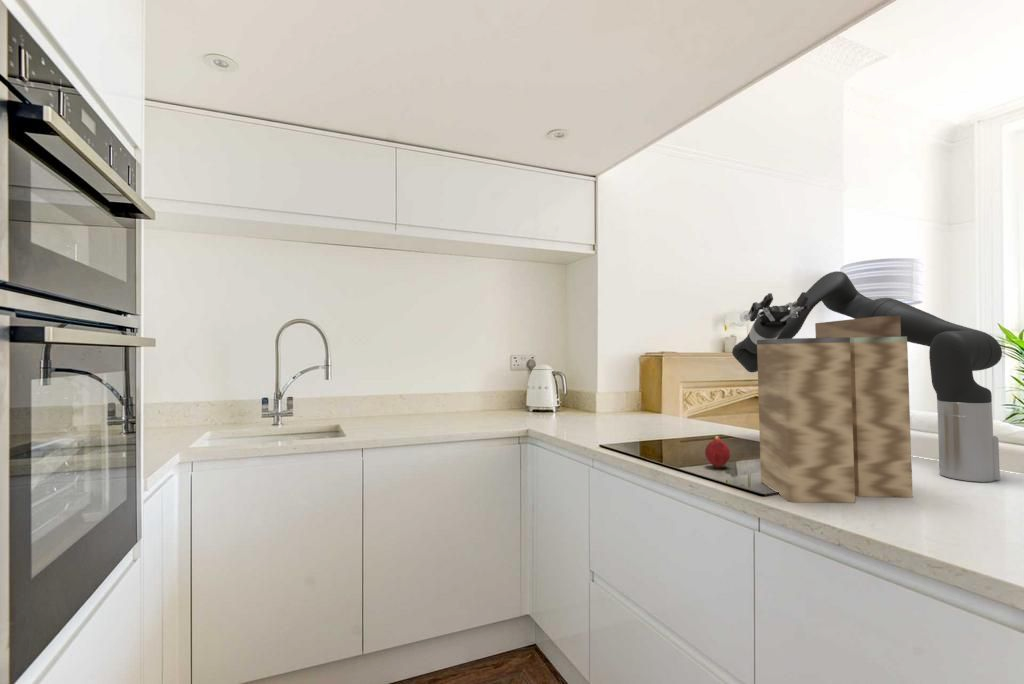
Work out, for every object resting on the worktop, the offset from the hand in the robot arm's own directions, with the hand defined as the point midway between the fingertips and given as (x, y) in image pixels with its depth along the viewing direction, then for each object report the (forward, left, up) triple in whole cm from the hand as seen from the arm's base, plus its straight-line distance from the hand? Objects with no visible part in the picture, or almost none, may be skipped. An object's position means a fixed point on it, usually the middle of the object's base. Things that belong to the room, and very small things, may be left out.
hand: (788, 295), depth 130 cm
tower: (-4, +23, -44) cm, 50 cm away
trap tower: (+10, +27, -44) cm, 53 cm away
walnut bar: (-4, +21, -12) cm, 25 cm away
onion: (+21, +6, -44) cm, 49 cm away
